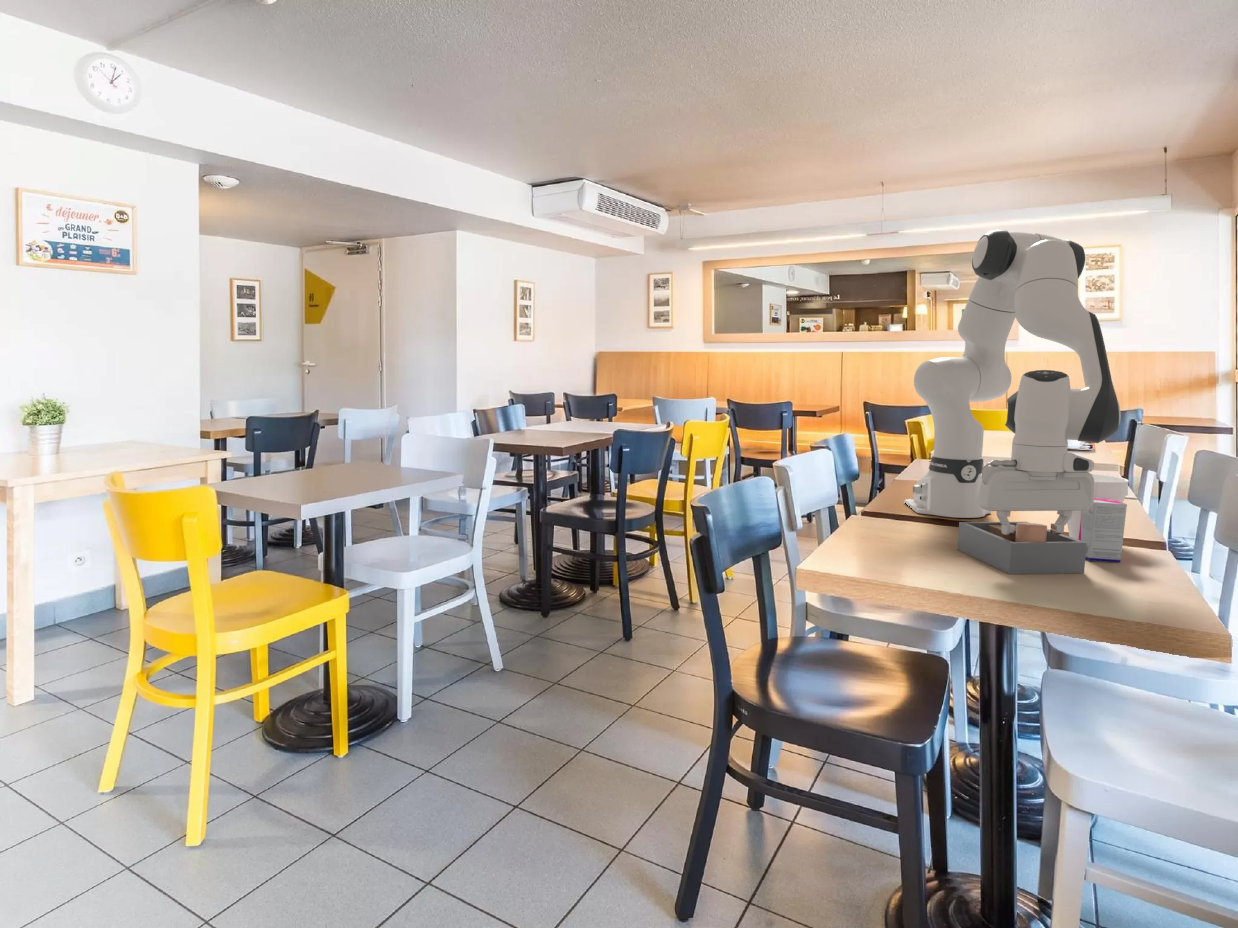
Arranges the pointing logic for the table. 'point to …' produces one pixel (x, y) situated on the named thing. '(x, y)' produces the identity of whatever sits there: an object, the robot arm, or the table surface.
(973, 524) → the tote
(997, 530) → the block
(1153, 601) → the table surface
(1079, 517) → the cup
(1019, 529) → the cylinder
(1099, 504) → the supplement box
